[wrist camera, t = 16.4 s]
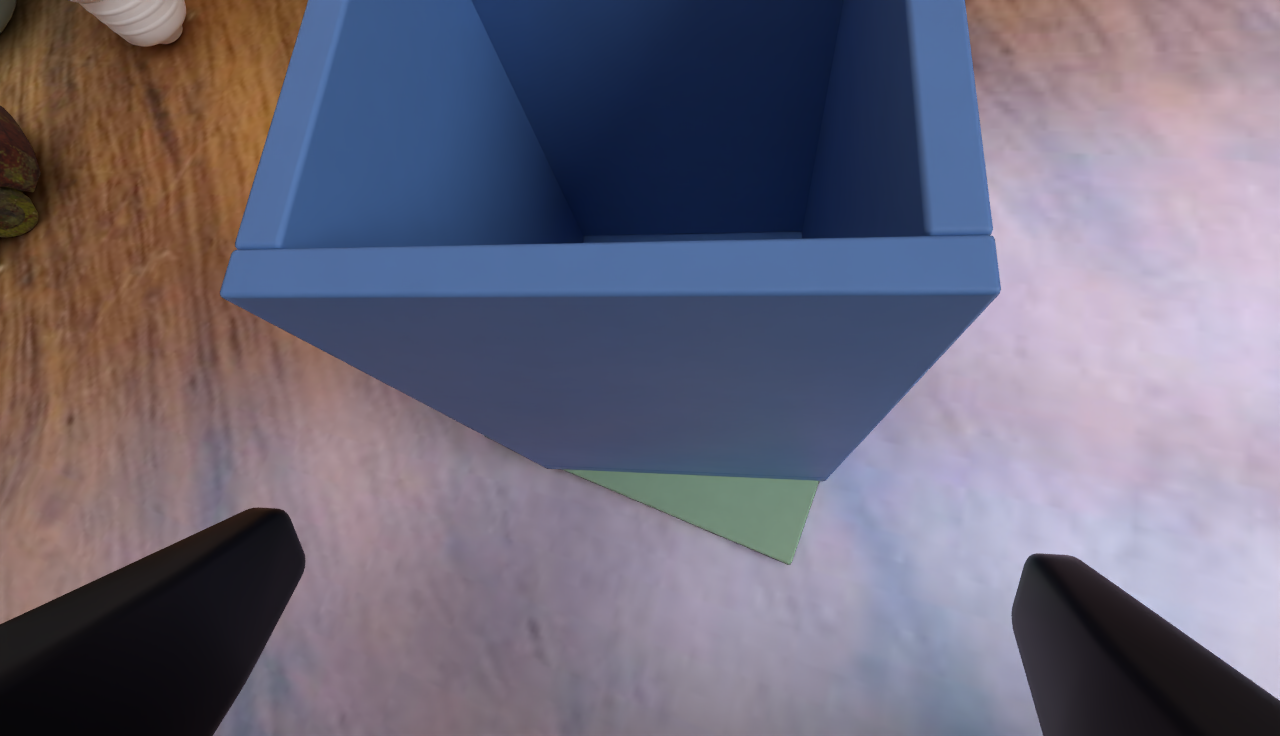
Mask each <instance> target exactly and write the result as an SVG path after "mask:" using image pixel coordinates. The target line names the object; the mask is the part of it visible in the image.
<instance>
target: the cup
mask: <svg viewBox="0 0 1280 736" xmlns="http://www.w3.org/2000/svg"><path fill="white" fill-rule="evenodd" d="M16 3H17V0H0V34H1V33H2V32H3V31H4V29H5V28H6V26H7V25H8V23H9V21H10V19H11V17H12V15H13V13H14V10H15V7H16Z"/></svg>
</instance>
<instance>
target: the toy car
mask: <svg viewBox="0 0 1280 736" xmlns="http://www.w3.org/2000/svg"><path fill="white" fill-rule="evenodd" d="M40 174H41V173H40V169H39V165H38V162H37V159H36V156H35V153H34V151H33V149H32V147H31V145H30V143H29V141H28V140H27V138H26V136H25V135H24V133H23V132H22V130H21V128H20V127H19V125H18V124H17V123H16V121H15V120H14V119H13V117H12V116H11V115H10V114H9V113H8V112H7V111H6V110H5V109H4V108H3V107H1V106H0V237H13V236H19V235H22V234H24V233H26V232H28V231H30V230H32V228H33V227H34V226H35V225H36V224H37V222H38V212H37V210H36V209H35V207H34V205H33V203H32V201H31V199H30V198H29V197H27V196H26V195H25V194H23V193H22V192H23V191H28V192H34V190H35V189H36V183H37V181H38V179H39V176H40Z"/></svg>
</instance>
